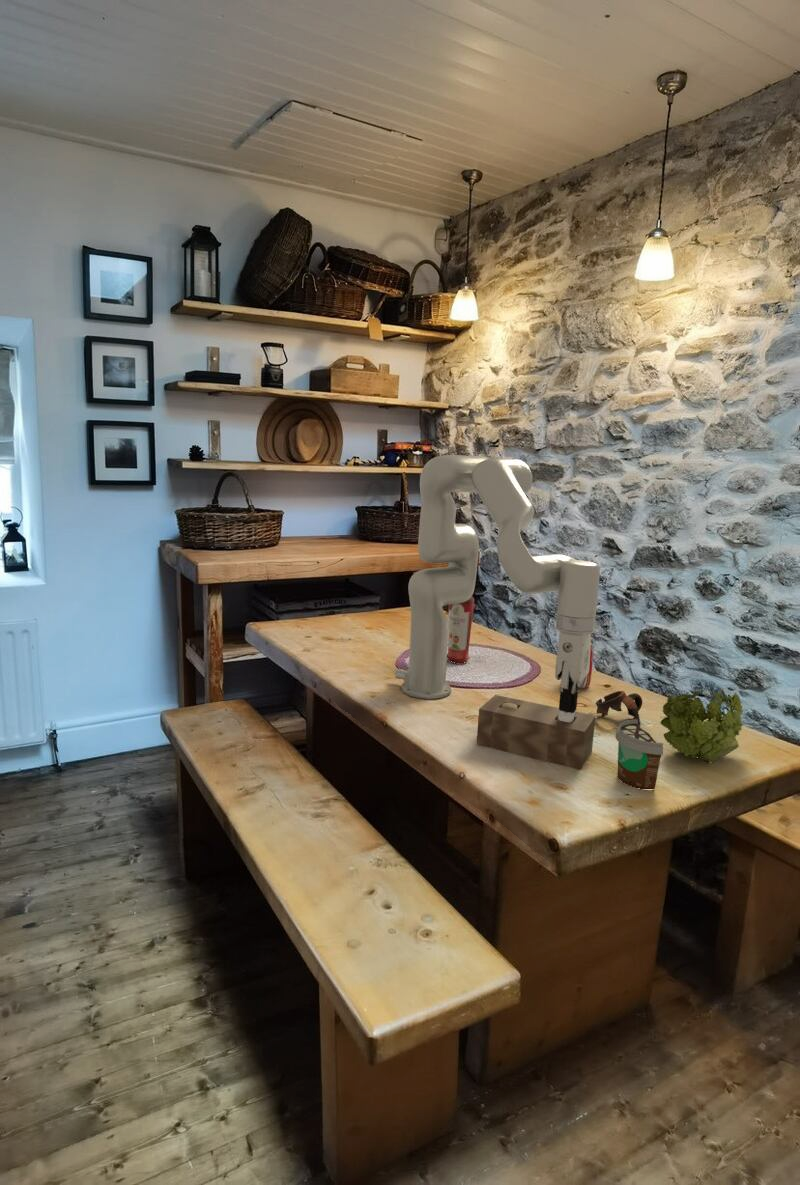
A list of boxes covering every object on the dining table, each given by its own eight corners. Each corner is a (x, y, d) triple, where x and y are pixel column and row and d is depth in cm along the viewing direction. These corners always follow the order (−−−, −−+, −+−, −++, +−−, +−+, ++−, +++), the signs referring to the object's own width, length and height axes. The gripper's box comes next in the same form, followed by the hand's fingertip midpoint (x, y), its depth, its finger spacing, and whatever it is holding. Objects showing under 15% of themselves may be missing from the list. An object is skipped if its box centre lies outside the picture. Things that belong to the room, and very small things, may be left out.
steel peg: (553, 743, 145) (556, 710, 144) (557, 737, 148) (560, 706, 147) (569, 746, 144) (572, 714, 142) (573, 741, 147) (576, 709, 145)
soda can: (590, 691, 186) (595, 647, 184) (563, 688, 187) (567, 644, 185) (589, 682, 193) (593, 640, 190) (562, 679, 194) (567, 637, 192)
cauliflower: (743, 764, 135) (681, 700, 138) (688, 790, 147) (632, 730, 150) (775, 713, 146) (717, 654, 149) (721, 740, 158) (668, 686, 161)
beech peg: (497, 737, 151) (500, 706, 149) (502, 732, 154) (505, 701, 152) (512, 740, 149) (514, 709, 148) (516, 735, 152) (519, 704, 151)
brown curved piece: (628, 735, 159) (612, 702, 160) (598, 739, 167) (583, 707, 168) (659, 712, 166) (644, 680, 166) (629, 717, 174) (615, 686, 174)
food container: (601, 764, 143) (606, 718, 140) (631, 765, 143) (636, 718, 141) (625, 794, 131) (631, 744, 128) (657, 794, 131) (664, 744, 129)
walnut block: (476, 744, 150) (479, 708, 148) (492, 728, 158) (495, 694, 157) (580, 769, 140) (584, 731, 138) (591, 751, 149) (595, 715, 147)
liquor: (441, 662, 204) (447, 567, 199) (449, 656, 211) (455, 563, 205) (466, 666, 202) (472, 570, 196) (473, 660, 208) (479, 566, 203)
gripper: (585, 633, 132) (577, 726, 136) (602, 618, 145) (594, 703, 149) (546, 627, 136) (539, 718, 139) (566, 613, 149) (558, 696, 152)
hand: (567, 710), depth 144 cm, fingers closed
